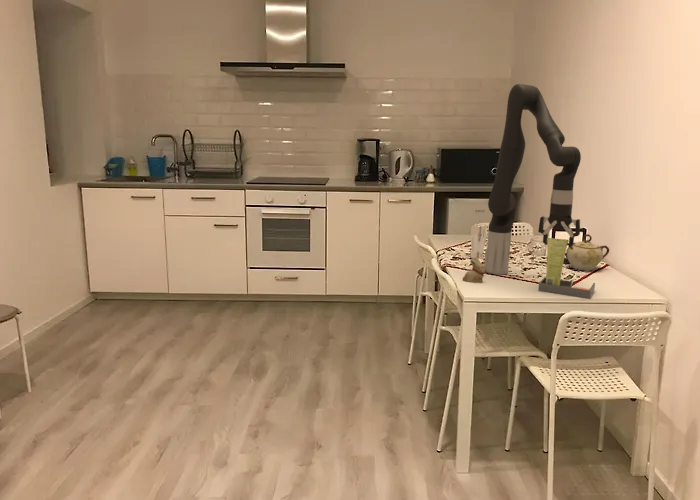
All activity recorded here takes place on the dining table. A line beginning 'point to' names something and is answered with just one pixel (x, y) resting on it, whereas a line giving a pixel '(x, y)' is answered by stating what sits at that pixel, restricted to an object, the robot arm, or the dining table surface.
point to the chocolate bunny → (475, 271)
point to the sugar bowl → (585, 254)
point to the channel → (565, 289)
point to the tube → (555, 260)
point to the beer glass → (477, 240)
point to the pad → (581, 288)
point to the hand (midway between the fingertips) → (557, 245)
